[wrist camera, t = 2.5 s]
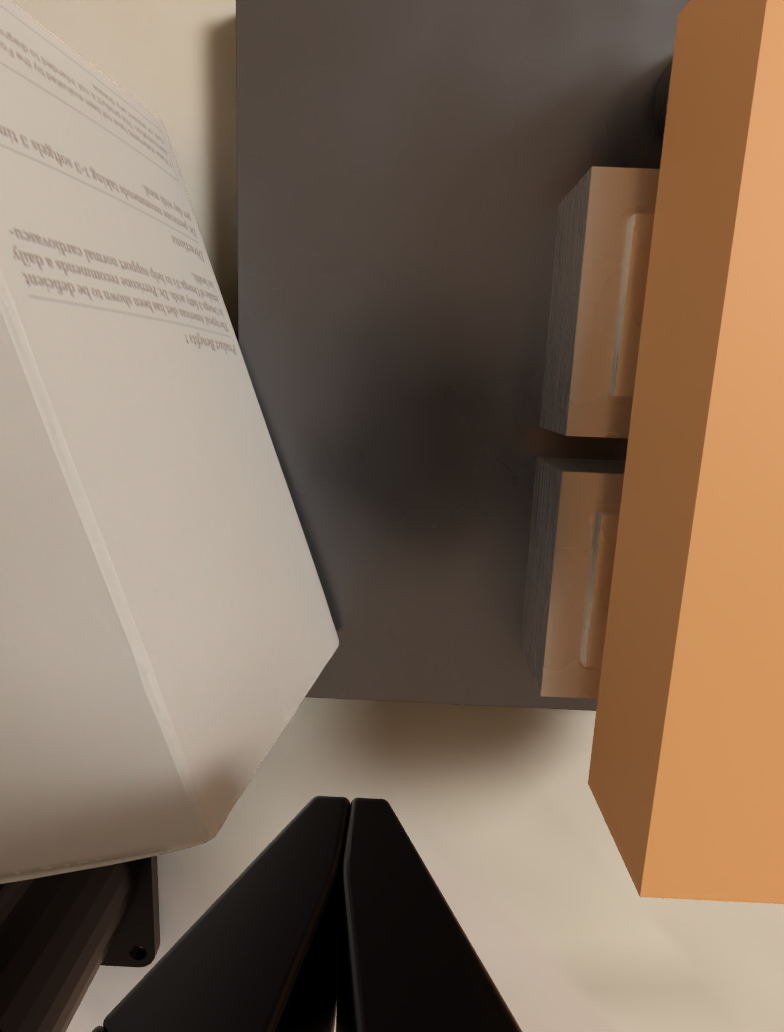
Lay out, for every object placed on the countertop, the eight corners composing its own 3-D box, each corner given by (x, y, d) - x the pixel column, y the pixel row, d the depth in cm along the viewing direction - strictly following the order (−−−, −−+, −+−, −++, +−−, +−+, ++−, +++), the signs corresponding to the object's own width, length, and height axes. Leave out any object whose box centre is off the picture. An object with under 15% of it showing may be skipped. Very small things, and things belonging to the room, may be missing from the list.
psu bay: (986, 707, 17) (1155, 802, 14) (252, 673, 18) (208, 756, 14) (1155, 41, 14) (1442, -89, 10) (249, 7, 14) (191, -132, 10)
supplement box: (-592, 109, 8) (-193, 938, 10) (-160, -167, 7) (229, 857, 9) (-92, 241, 16) (95, 712, 17) (173, 120, 14) (351, 648, 16)
